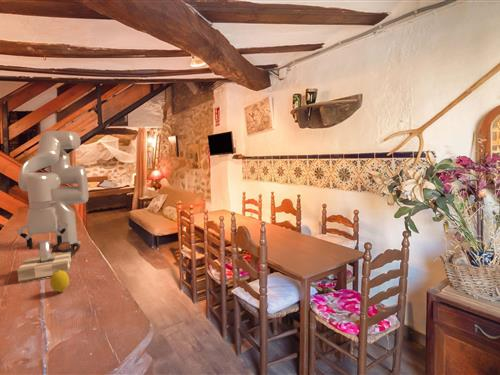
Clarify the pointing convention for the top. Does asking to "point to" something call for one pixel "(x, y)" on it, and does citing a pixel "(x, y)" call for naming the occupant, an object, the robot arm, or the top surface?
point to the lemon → (59, 281)
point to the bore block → (43, 267)
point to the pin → (44, 251)
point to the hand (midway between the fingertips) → (45, 246)
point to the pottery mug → (66, 248)
